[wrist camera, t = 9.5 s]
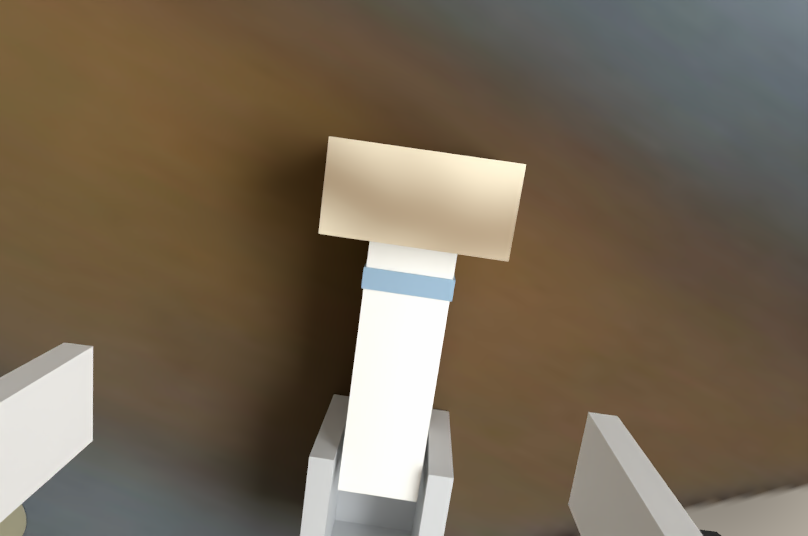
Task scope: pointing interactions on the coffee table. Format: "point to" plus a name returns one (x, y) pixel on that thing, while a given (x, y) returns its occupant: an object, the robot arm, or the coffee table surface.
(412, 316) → the blue-banded white bar
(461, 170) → the beige block
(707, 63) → the coffee table surface
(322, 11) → the coffee table surface
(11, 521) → the mug
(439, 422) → the sleeve
